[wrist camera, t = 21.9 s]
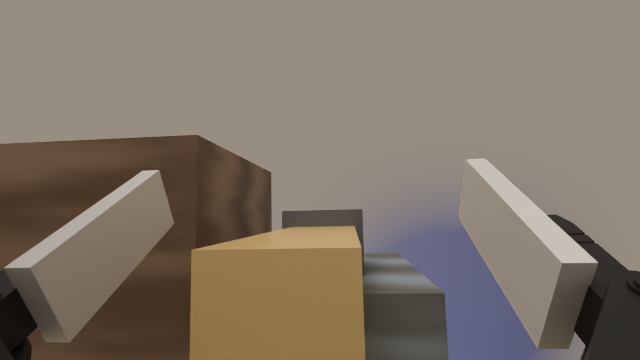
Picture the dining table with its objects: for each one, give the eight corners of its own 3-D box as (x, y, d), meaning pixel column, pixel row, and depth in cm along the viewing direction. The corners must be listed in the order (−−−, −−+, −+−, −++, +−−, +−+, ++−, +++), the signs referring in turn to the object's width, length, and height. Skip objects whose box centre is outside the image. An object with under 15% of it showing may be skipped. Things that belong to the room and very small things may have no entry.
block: (389, 388, 7) (382, 202, 8) (168, 383, 8) (172, 208, 8) (361, 263, 25) (359, 210, 25) (295, 264, 25) (295, 211, 26)
